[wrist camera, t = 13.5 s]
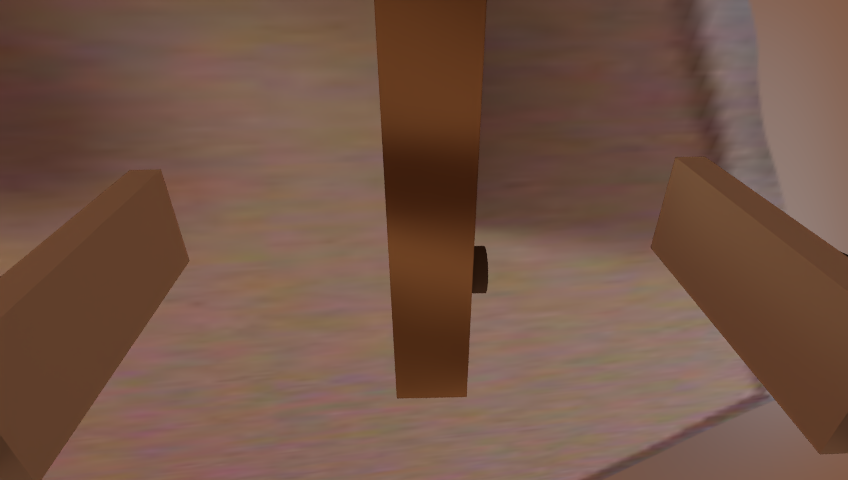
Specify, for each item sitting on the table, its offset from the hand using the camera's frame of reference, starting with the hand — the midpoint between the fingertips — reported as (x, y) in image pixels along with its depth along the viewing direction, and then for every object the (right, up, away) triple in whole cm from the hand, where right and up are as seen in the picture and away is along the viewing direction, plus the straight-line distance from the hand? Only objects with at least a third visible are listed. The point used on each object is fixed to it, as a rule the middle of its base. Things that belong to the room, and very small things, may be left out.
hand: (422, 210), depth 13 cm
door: (0, +10, +16) cm, 19 cm away
